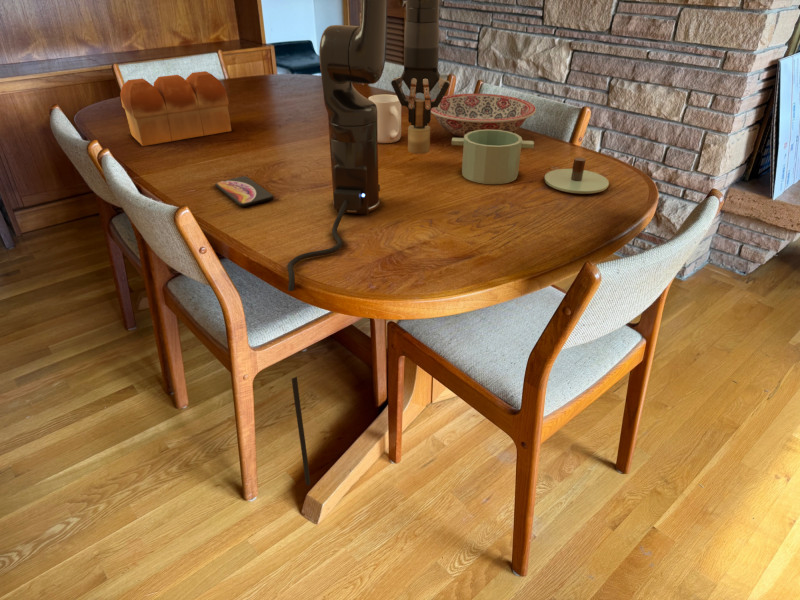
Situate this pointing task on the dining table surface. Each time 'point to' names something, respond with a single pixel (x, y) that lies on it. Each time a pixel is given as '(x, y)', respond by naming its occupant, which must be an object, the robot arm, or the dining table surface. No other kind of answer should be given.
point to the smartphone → (244, 191)
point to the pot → (491, 155)
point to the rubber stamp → (419, 131)
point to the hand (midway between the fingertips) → (419, 124)
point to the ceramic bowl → (481, 113)
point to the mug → (388, 117)
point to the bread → (175, 107)
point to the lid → (576, 179)
